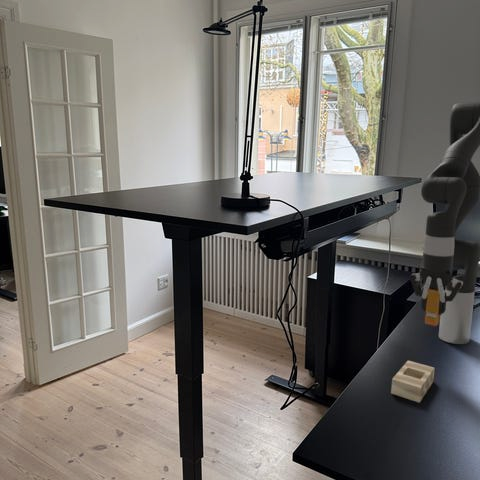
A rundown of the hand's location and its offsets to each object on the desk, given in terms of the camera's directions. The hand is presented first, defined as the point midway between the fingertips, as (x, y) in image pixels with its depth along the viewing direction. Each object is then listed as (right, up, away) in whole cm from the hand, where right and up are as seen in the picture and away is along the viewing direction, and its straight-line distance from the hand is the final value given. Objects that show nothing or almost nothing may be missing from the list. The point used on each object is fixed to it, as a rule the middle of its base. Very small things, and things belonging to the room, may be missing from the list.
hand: (433, 312), depth 122 cm
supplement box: (0, -3, +1) cm, 3 cm away
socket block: (-8, -19, -6) cm, 21 cm away
